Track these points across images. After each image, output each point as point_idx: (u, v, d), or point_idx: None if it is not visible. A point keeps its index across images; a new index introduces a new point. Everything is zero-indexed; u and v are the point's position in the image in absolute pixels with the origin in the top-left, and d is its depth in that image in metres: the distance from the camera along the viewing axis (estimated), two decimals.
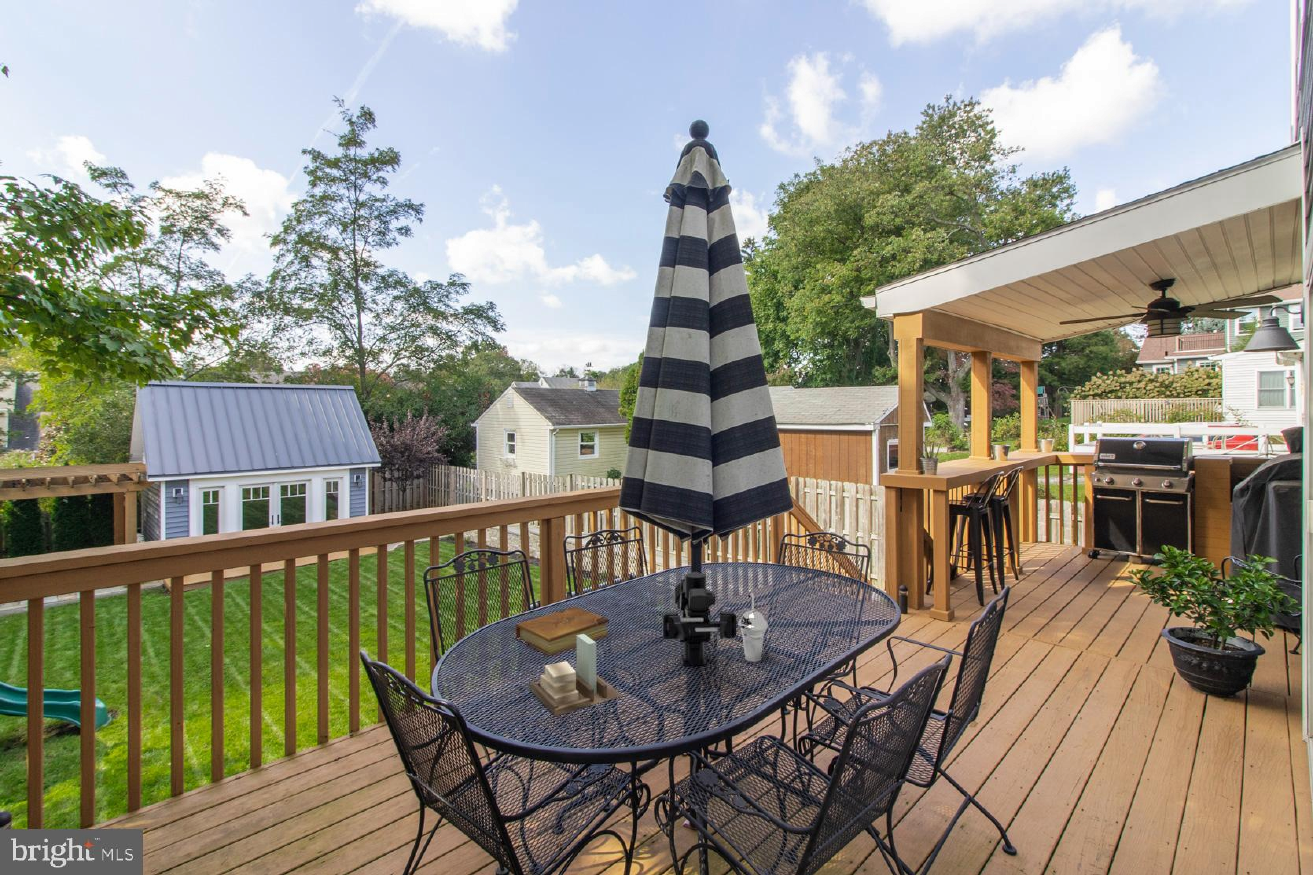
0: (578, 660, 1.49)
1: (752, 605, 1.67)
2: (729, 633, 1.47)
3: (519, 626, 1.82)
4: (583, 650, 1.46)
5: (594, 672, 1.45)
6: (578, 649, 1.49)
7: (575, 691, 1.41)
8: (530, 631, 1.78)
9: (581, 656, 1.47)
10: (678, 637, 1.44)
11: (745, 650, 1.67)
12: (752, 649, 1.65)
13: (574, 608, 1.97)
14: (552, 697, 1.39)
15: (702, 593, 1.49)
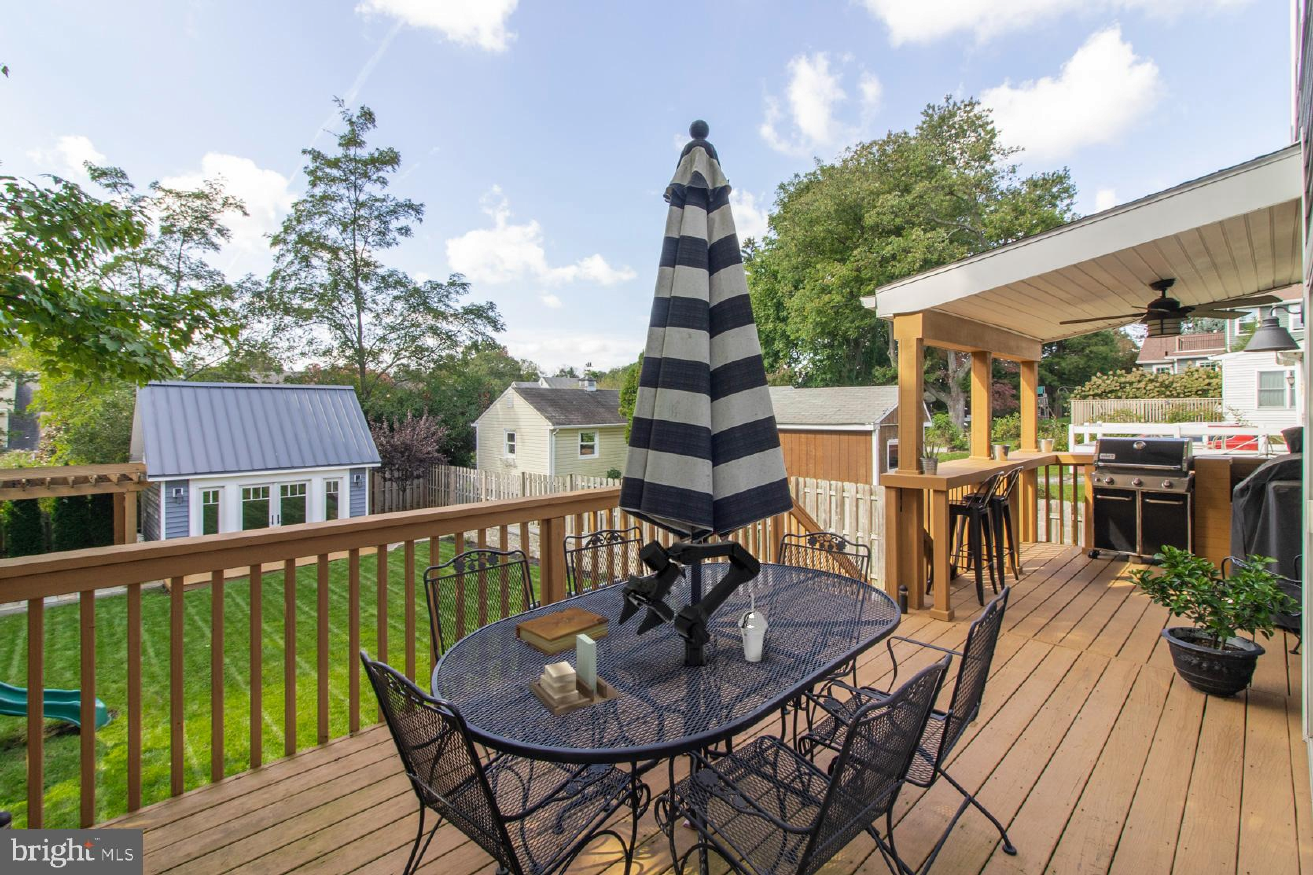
0: (578, 660, 1.49)
1: (752, 605, 1.67)
2: (661, 620, 1.51)
3: (519, 626, 1.82)
4: (583, 650, 1.46)
5: (594, 672, 1.45)
6: (578, 649, 1.49)
7: (575, 691, 1.41)
8: (530, 631, 1.77)
9: (581, 656, 1.47)
10: None
11: (745, 650, 1.67)
12: (752, 649, 1.65)
13: (574, 608, 1.97)
14: (552, 697, 1.39)
15: (632, 584, 1.53)
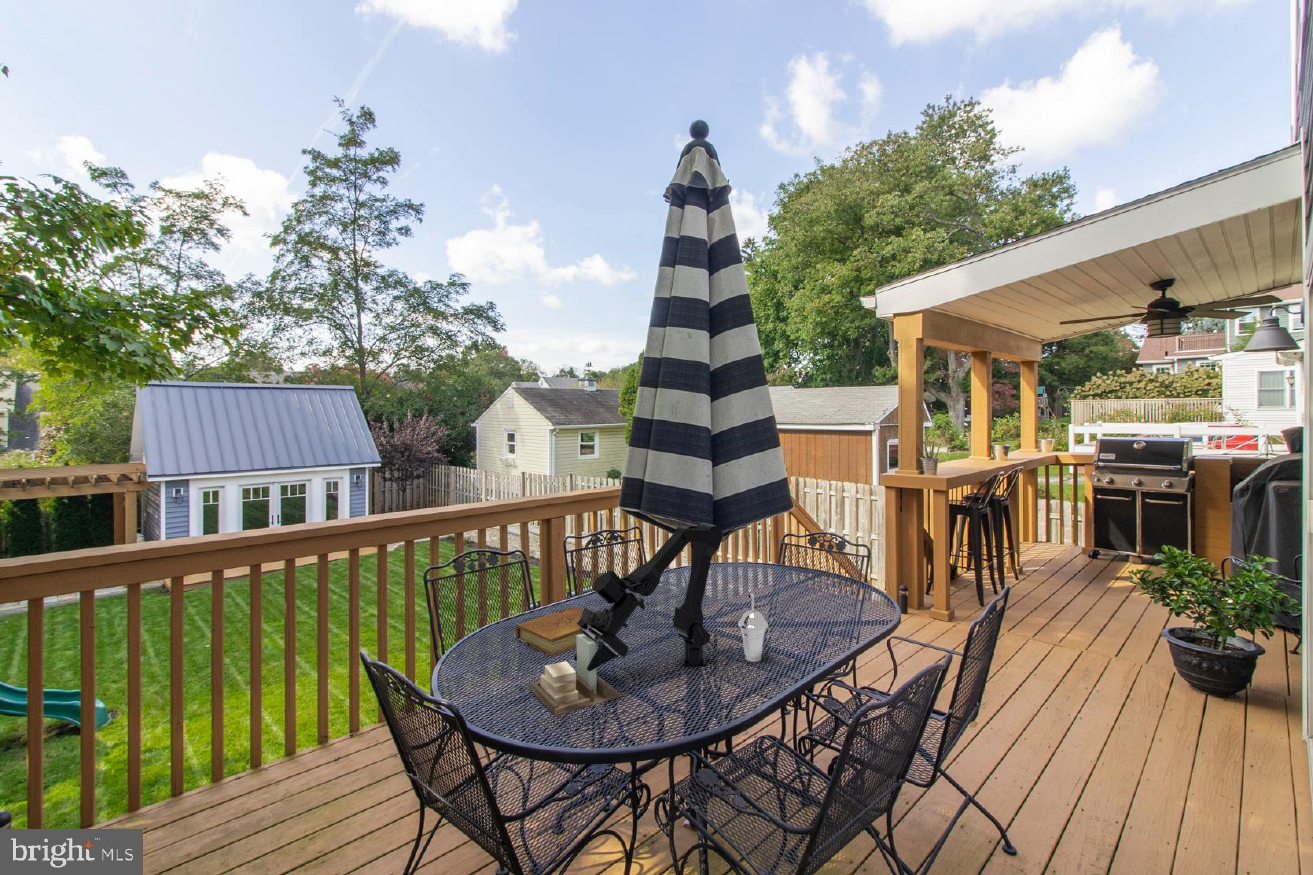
0: (578, 660, 1.49)
1: (752, 605, 1.67)
2: (613, 655, 1.44)
3: (520, 627, 1.82)
4: (583, 650, 1.46)
5: (594, 672, 1.45)
6: (578, 649, 1.49)
7: (575, 691, 1.41)
8: (531, 632, 1.77)
9: (581, 656, 1.47)
10: None
11: (745, 650, 1.67)
12: (752, 649, 1.65)
13: (573, 608, 1.97)
14: (552, 697, 1.39)
15: (585, 618, 1.46)
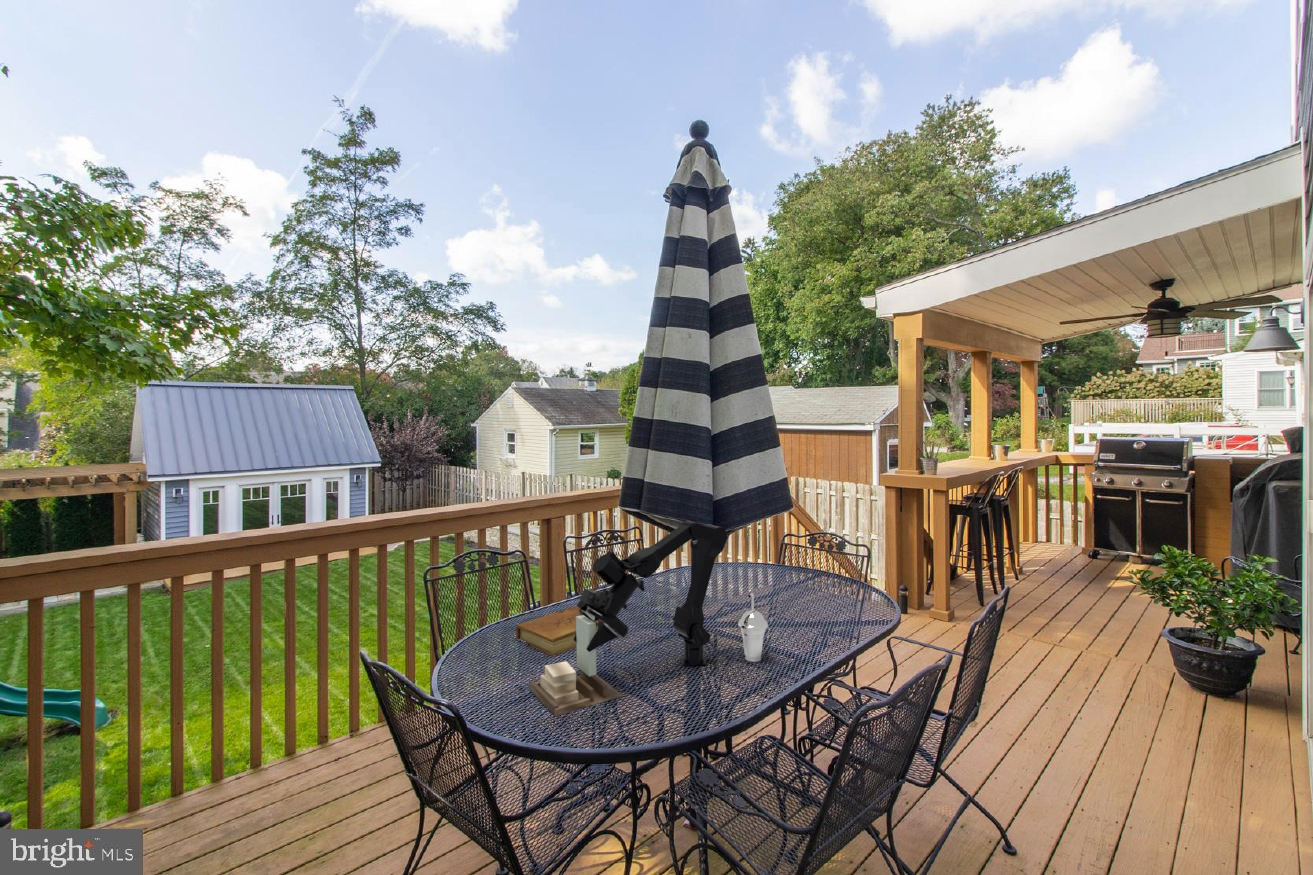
0: (578, 641, 1.49)
1: (752, 605, 1.67)
2: (613, 635, 1.44)
3: (520, 627, 1.81)
4: (583, 631, 1.46)
5: (594, 653, 1.45)
6: (578, 630, 1.49)
7: (575, 691, 1.41)
8: (532, 632, 1.77)
9: (581, 637, 1.47)
10: None
11: (745, 650, 1.67)
12: (752, 649, 1.65)
13: (573, 608, 1.97)
14: (552, 697, 1.39)
15: (585, 599, 1.46)
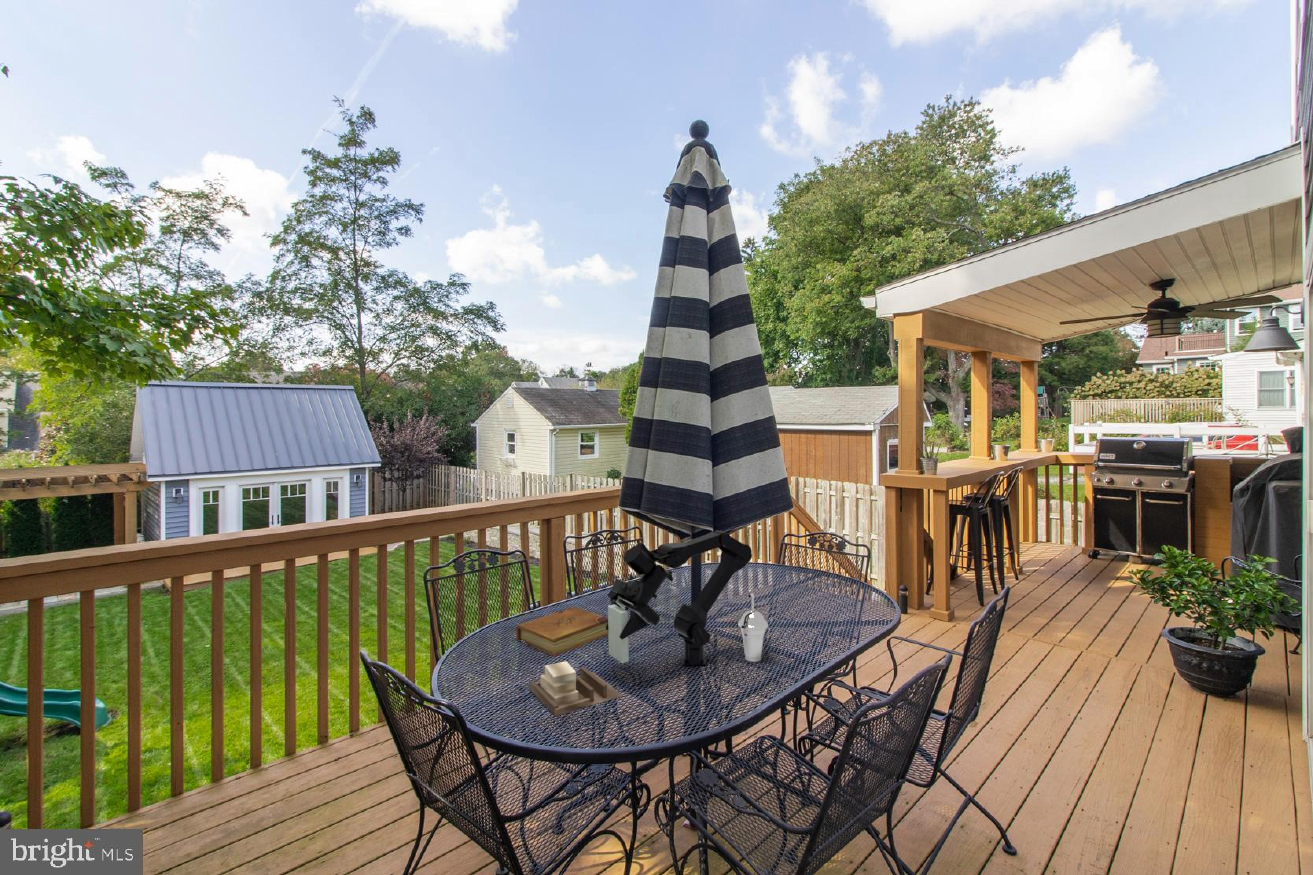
0: (610, 630, 1.54)
1: (752, 605, 1.67)
2: (645, 623, 1.49)
3: (520, 627, 1.81)
4: (615, 619, 1.51)
5: (626, 640, 1.50)
6: (610, 619, 1.54)
7: (575, 691, 1.41)
8: (532, 632, 1.77)
9: (613, 625, 1.52)
10: None
11: (745, 650, 1.67)
12: (752, 649, 1.65)
13: (573, 608, 1.97)
14: (552, 697, 1.39)
15: (617, 588, 1.51)
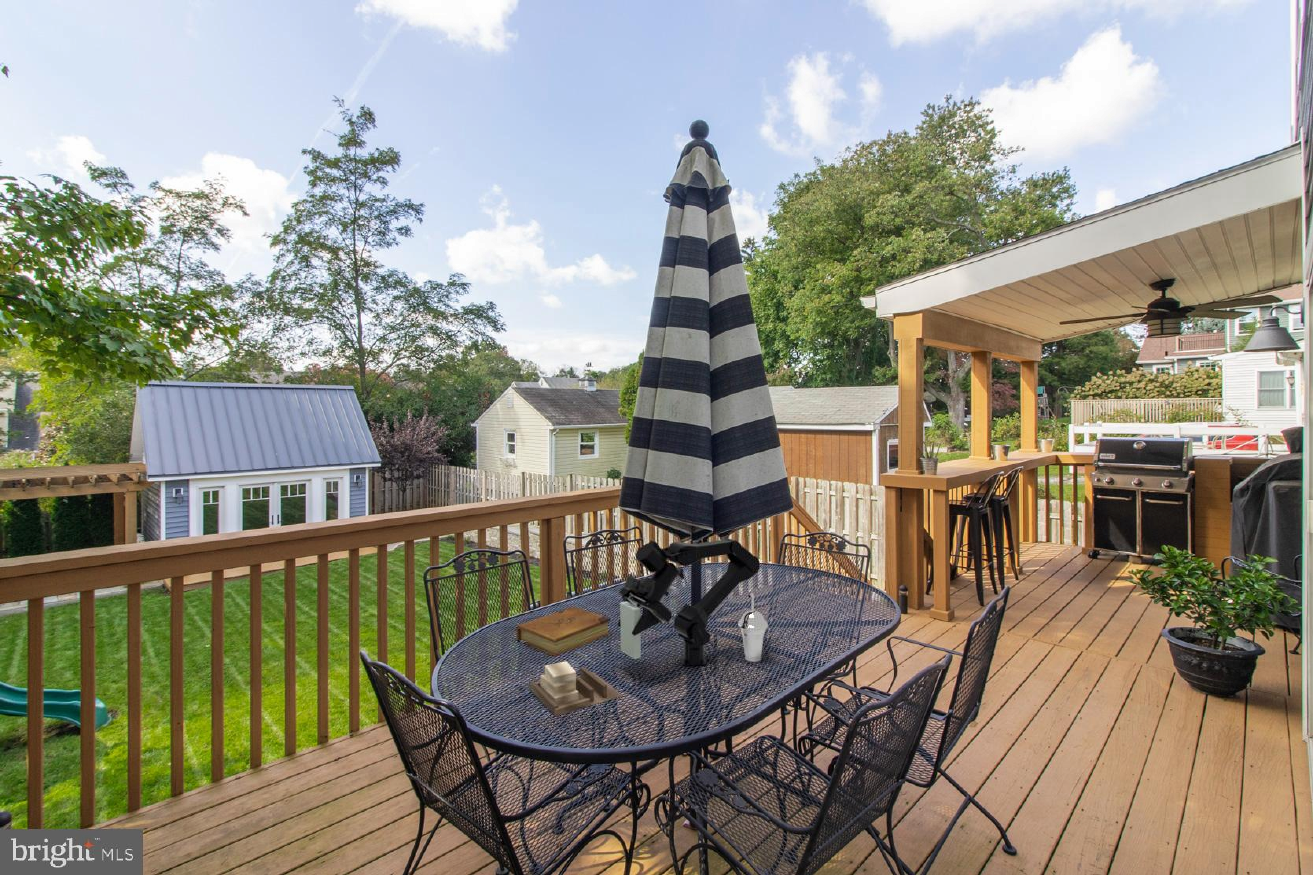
0: (622, 626, 1.56)
1: (752, 605, 1.67)
2: (657, 620, 1.51)
3: (521, 628, 1.81)
4: (628, 616, 1.53)
5: (638, 637, 1.52)
6: (622, 616, 1.56)
7: (575, 691, 1.41)
8: (533, 632, 1.77)
9: (625, 621, 1.54)
10: None
11: (745, 650, 1.67)
12: (752, 649, 1.65)
13: (573, 608, 1.97)
14: (552, 697, 1.39)
15: (629, 585, 1.53)
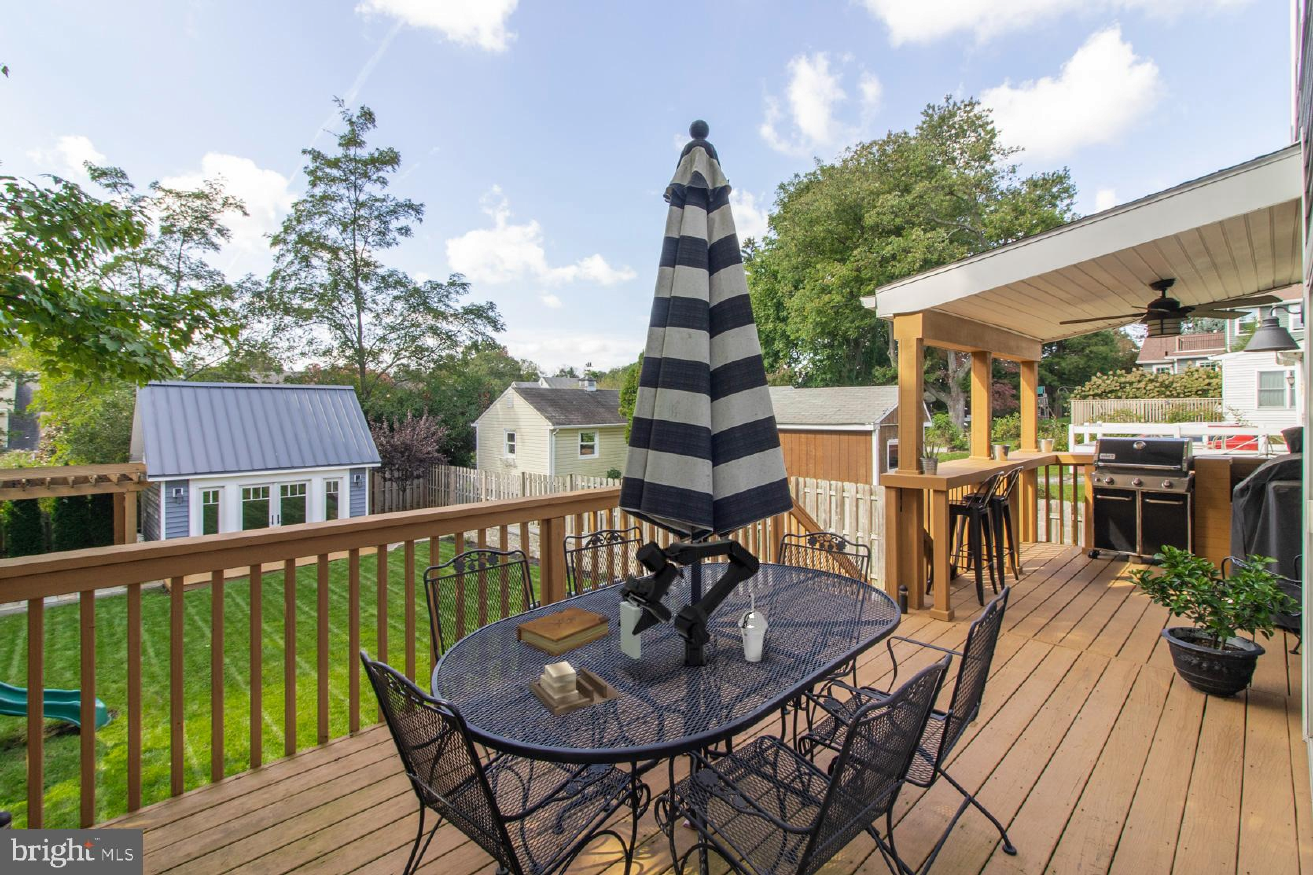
0: (622, 626, 1.56)
1: (752, 605, 1.67)
2: (657, 620, 1.51)
3: (521, 628, 1.81)
4: (628, 616, 1.53)
5: (638, 637, 1.52)
6: (622, 616, 1.56)
7: (575, 691, 1.41)
8: (534, 632, 1.77)
9: (625, 621, 1.54)
10: None
11: (745, 650, 1.67)
12: (752, 649, 1.65)
13: (572, 608, 1.97)
14: (552, 697, 1.39)
15: (629, 585, 1.53)
